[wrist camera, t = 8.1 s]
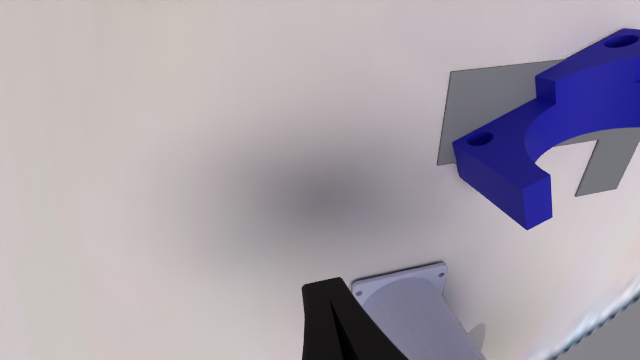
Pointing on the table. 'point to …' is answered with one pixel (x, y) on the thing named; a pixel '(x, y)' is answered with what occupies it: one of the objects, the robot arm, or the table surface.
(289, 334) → the table surface
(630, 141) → the t marking
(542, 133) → the cable clip
